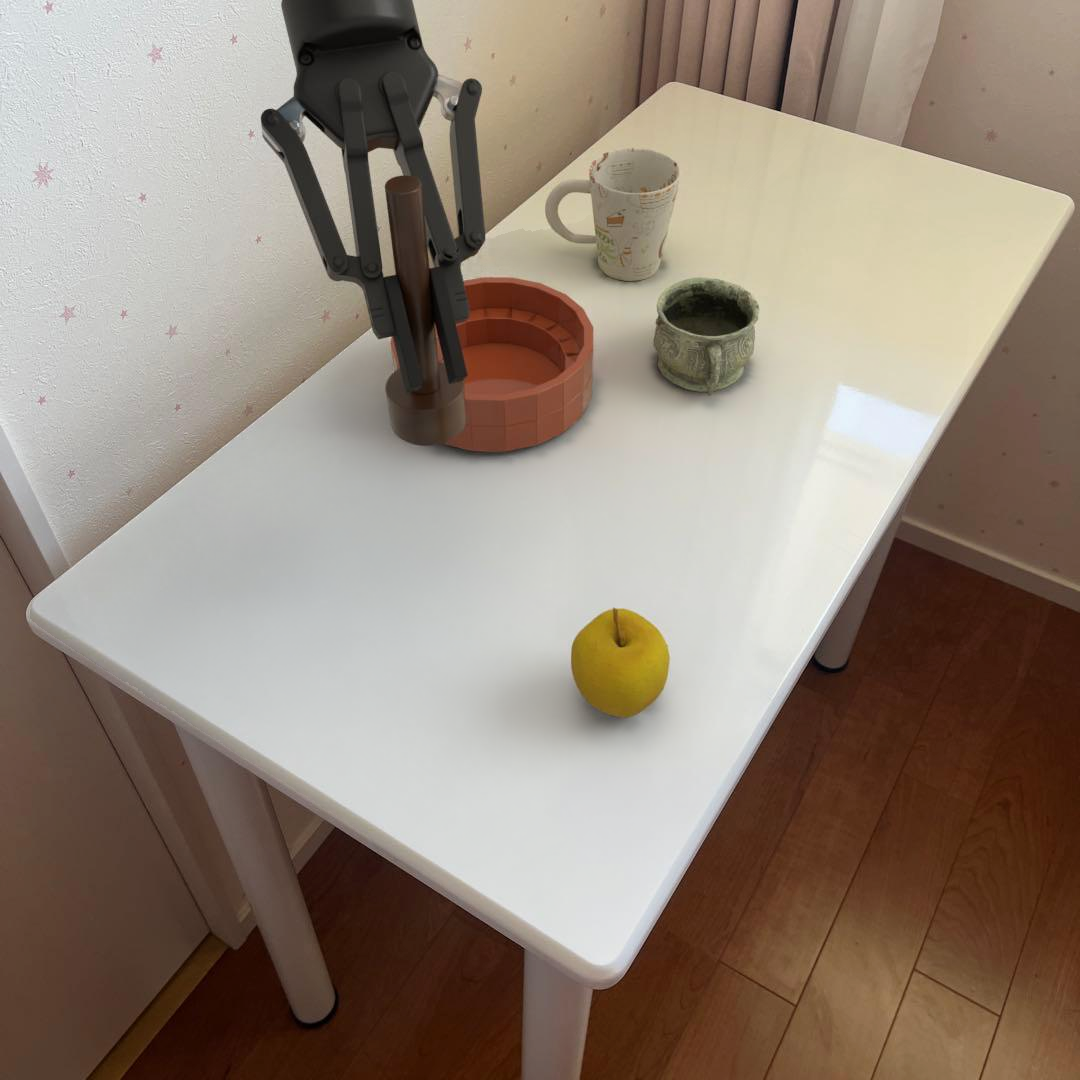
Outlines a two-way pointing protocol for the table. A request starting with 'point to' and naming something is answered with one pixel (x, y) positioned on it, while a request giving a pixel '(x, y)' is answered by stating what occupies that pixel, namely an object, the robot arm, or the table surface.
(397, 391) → the brown joystick
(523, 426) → the bowl
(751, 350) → the vessel
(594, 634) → the apple
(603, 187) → the mug
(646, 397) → the table surface
